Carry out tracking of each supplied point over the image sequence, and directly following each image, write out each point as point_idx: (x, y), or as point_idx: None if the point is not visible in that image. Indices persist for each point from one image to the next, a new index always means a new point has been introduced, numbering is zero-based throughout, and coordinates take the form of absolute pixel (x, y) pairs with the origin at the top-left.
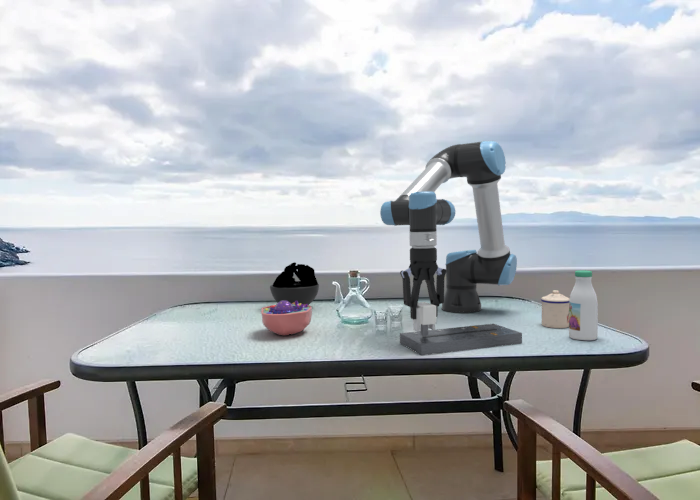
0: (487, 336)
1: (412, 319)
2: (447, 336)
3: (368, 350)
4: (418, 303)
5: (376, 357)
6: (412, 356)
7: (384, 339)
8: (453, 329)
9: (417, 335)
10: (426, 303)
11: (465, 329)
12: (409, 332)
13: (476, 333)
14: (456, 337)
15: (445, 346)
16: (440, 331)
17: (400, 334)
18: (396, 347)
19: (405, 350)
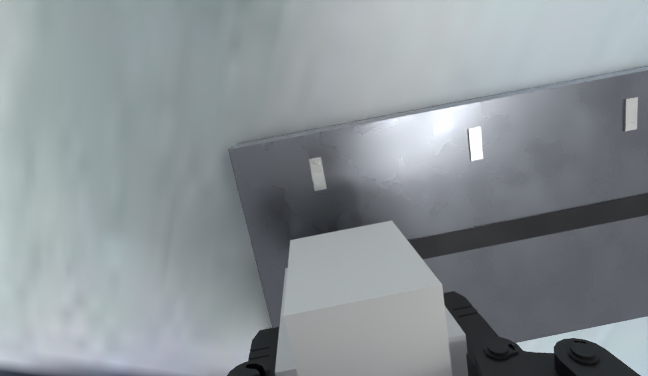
0: (636, 313)
1: (290, 245)
2: (460, 276)
3: (64, 239)
4: (345, 356)
5: (97, 349)
6: None
7: (167, 31)
8: (564, 129)
9: (317, 224)
10: (426, 373)
11: (625, 146)
12: (290, 144)
13: (625, 248)
14: (492, 305)
15: None
16: (473, 161)
17: (231, 158)
18: (208, 214)
19: (240, 271)
